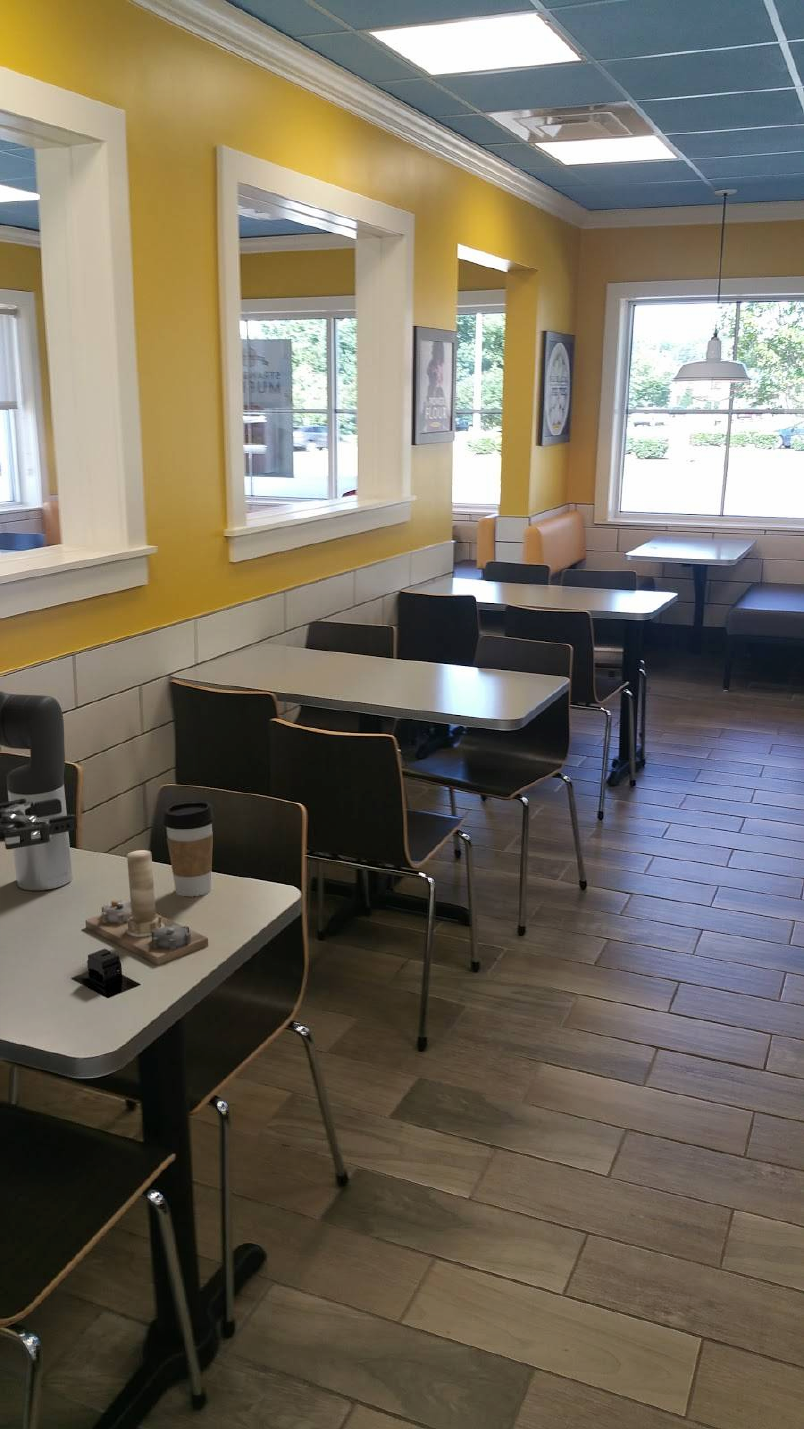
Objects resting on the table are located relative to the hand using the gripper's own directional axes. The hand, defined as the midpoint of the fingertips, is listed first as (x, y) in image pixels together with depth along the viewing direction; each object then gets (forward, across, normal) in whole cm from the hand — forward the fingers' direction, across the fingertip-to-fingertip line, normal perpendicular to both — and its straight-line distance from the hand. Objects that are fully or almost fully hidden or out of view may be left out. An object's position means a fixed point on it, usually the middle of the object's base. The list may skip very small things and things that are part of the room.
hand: (68, 813), depth 168 cm
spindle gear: (+9, -2, +20) cm, 22 cm away
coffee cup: (+22, +12, +22) cm, 34 cm away
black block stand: (0, -13, +22) cm, 26 cm away
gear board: (+9, -2, +22) cm, 24 cm away
